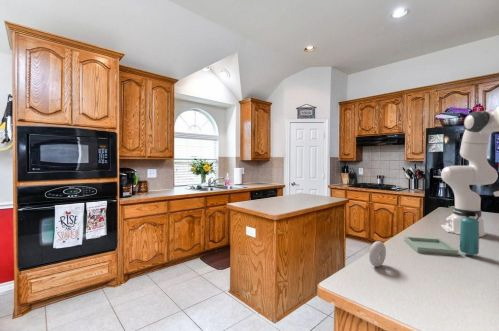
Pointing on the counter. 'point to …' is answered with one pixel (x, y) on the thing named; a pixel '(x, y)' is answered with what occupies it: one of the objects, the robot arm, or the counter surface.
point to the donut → (377, 253)
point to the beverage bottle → (469, 234)
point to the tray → (430, 246)
